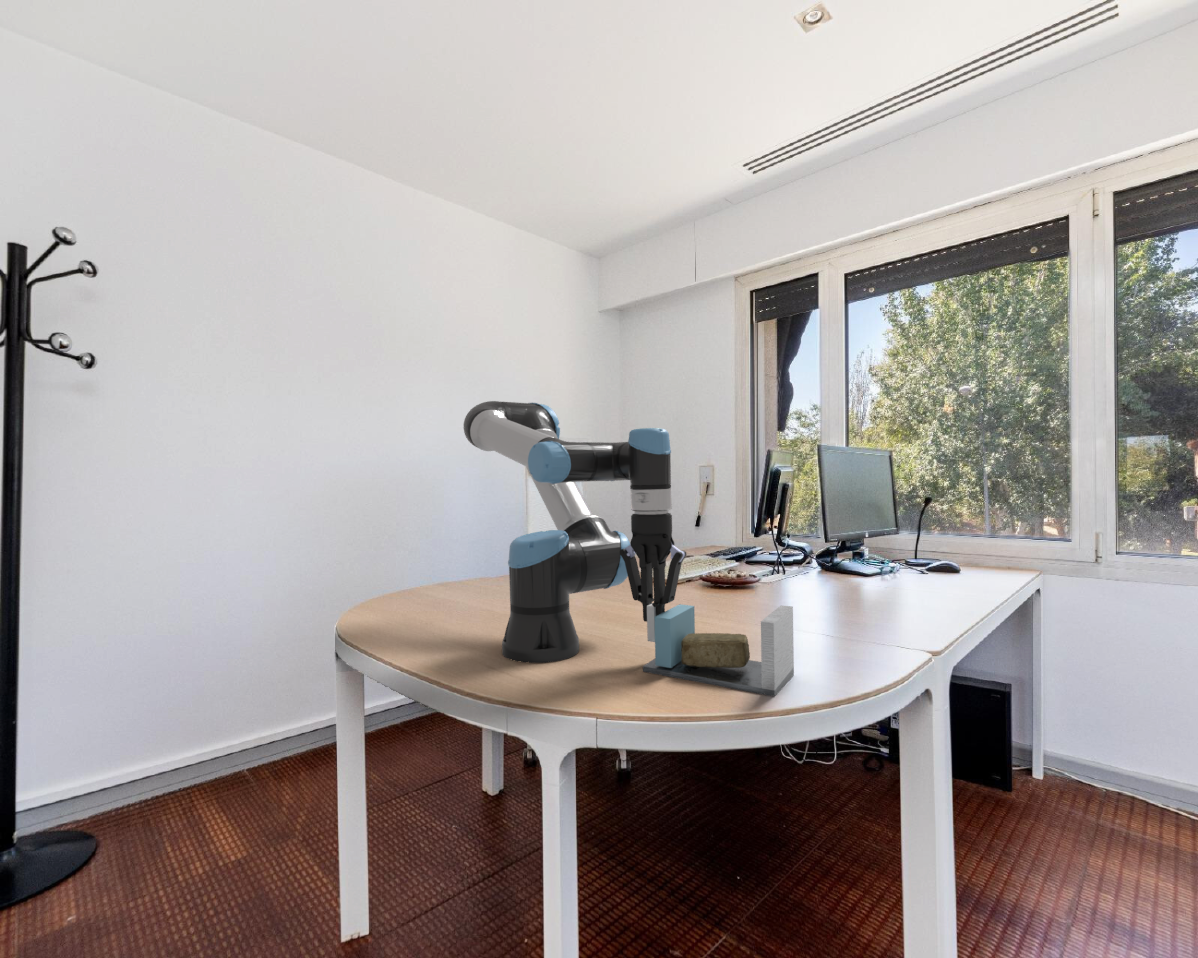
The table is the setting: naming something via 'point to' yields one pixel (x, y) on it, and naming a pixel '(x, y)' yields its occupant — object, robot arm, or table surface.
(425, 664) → the table surface
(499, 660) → the table surface
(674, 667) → the vise bed
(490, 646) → the table surface
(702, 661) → the stone block
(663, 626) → the sliding jaw
